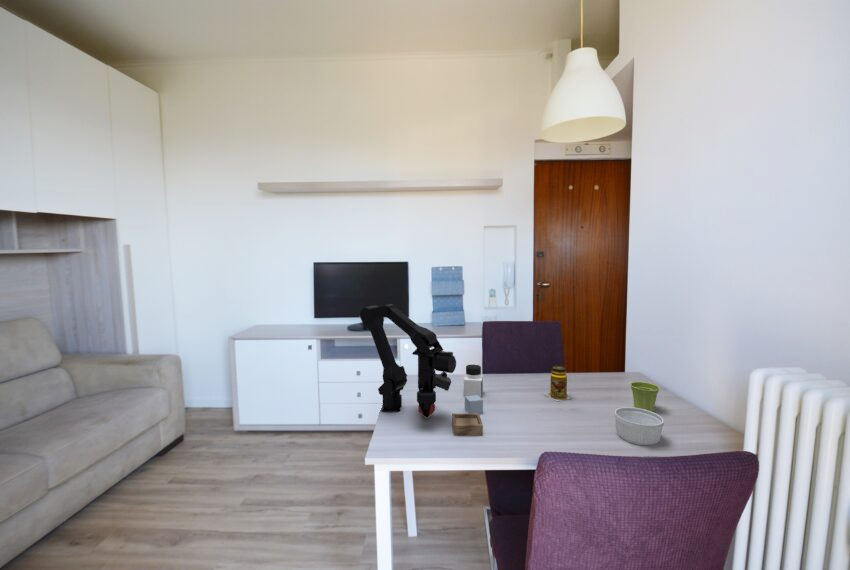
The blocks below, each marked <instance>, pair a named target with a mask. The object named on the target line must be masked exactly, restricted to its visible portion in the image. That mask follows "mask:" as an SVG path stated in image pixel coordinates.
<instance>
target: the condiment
mask: <svg viewBox="0 0 850 570" xmlns="http://www.w3.org/2000/svg"><path fill="white" fill-rule="evenodd" d="M567 390H568V375H567V368H566V367H565V366H560V365H554V366H552V367H551V373H550V391H549V392H547V393H543V395H544V396H546V397H548V398H550V399H552V400H554V401H556V402H561V401H567V400H570V399H572V397H570V396H568V395H567V393H568V392H567Z"/></svg>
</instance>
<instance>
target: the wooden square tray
mask: <svg viewBox="0 0 850 570" xmlns="http://www.w3.org/2000/svg"><path fill="white" fill-rule="evenodd" d="M482 422H483V421H482V419H481V416H480V414H479V413H468V412H466V413H464V412H463V413H451V424H452V432H453V437H464V436H465V437H474V436H475V437H479V436H481V437H483V436H484V433H483V432H484V429H483V428H484V425H483V423H482Z"/></svg>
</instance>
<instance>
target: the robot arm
mask: <svg viewBox="0 0 850 570" xmlns="http://www.w3.org/2000/svg"><path fill="white" fill-rule="evenodd" d="M359 317H360V320H361V323H362V324H363V326H364V327H365V328H366V329H367V330H368V331H369V332H370V334H371V337H372V340H373V342H374V345H375V349H376V351H377V354H378V356H379V359H380V362H381V365H382V367H383V368H382V369H383V371H382V382H383V383H382V384H381V385H380V386H379V387H378V388H377V391H378V394H379V395H381V396H382V409H381V412H383V413H384V412H387V413H388V412H389V413H390V412H401V408H402V405H403V402H402V401H403V397H402V394H401V391H403V390H404V388H405V386H406V384H407V382H408V379H407V378H408V374H407V372H406V370H405V367H404V366H403V365H402V366H400V365H399V364H398V363H397V362H396V359H395V356H394V353H393V350H392V348H391V346H390V343H389V340H388V337H387V334H386V332H385V329H384V324H385V323H384V321H385V317H386V318H387V319H389V320H390V321H391V322H392V323H394V324H395V325H396V326H397V327H398V328H399V329H401V330H402V332H404V333H405V334H406V335H408V336H409V339H410V340H411V341H410V342H411V343H412V344H413V345H414V346H415V348H416V349H415V350H414V351H412V353H411V354H412V356H413V355H414V356H417V388H418V391H416V402H417V403H418V406H420V408H421V410H422V412H423V414H424V416H423V417H424V418H425V419H428V418H430V416H429V412H430V407H431V404H433V403H434V404H435V403H436V401H437V395H436V393H437V392H436V391H435V390H434V389H436V388H440V389H443V390H444V391H447V392H448V391H449V390H450V386H451V384H452V378H450V377H449V376H448V374H447V373H449V374H453V373H454V372H455V370H456V367H457V359H456V357H455V356H454V352H453V351H444V348H443V347H442V345H441V343H440V342H439V340H438V337H437V334H436V333H435V332H434V331H432V330H431V329H429V328H427V327H423V326H421V325H418V324H417V323H416V322H414V321H413V320H412V319H410V317H408V316H407V315H406V314H404V313H403V312H402V311H401V310H399V309H398V308H397V306H396V305H395V304H393V303H390V304H385V305H383V306H379V305H371V306H365V307H363V308H362V309H361V310H360V313H359ZM436 371H437V372H438V371H439V372H441V373H436Z"/></svg>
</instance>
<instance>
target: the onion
mask: <svg viewBox="0 0 850 570" xmlns="http://www.w3.org/2000/svg"><path fill="white" fill-rule="evenodd" d="M435 411H436V404H435V403H433V404H431V407H430V412H429V417H431V416H432V415H433V414H434V412H435ZM418 412H419V414H420V415H422V416H423V417H424V414H423V412H422V410H421V408H420V406H419V405H418Z"/></svg>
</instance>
